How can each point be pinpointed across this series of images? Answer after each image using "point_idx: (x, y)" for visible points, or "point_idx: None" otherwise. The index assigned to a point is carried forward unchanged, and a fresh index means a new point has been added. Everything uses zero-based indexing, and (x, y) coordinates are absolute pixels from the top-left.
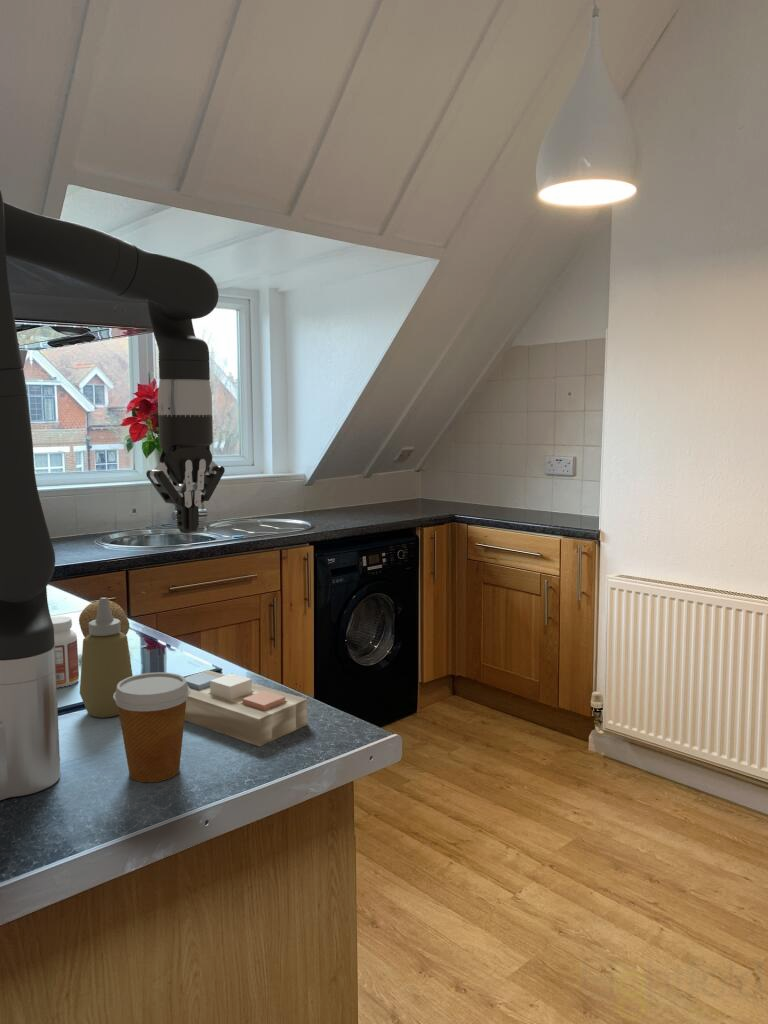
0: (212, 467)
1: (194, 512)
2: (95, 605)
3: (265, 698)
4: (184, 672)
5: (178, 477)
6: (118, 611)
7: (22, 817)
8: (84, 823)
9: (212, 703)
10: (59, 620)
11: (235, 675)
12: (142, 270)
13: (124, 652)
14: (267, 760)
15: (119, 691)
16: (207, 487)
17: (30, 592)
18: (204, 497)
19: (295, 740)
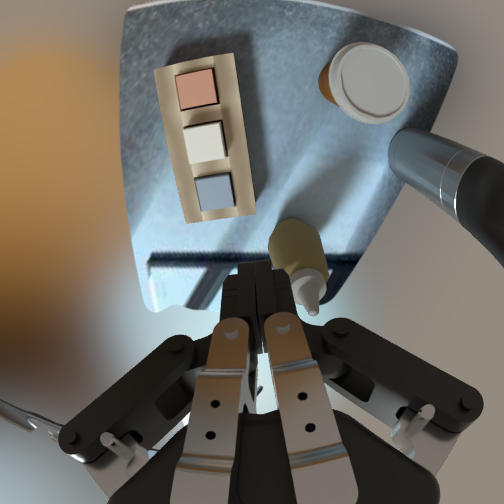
0: (111, 466)
1: (247, 301)
2: None
3: (196, 85)
4: (181, 276)
5: (355, 425)
6: None
7: (434, 105)
8: (414, 62)
9: (242, 125)
10: None
11: (190, 154)
12: None
13: (292, 249)
14: (248, 29)
15: (409, 93)
16: (163, 386)
17: None
18: (191, 346)
19: (197, 47)
